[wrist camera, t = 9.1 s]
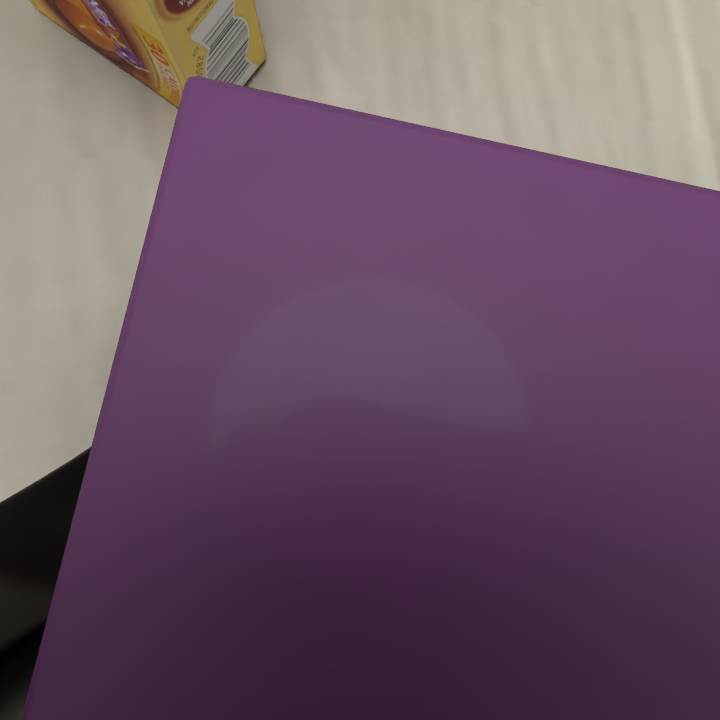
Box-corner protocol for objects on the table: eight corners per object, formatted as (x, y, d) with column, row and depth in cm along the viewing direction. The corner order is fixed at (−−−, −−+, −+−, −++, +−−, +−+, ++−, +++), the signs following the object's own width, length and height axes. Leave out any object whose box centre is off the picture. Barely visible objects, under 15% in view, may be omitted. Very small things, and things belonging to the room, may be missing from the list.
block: (442, 522, 16) (854, 1118, 3) (285, 486, 16) (-37, 914, 3) (475, 365, 16) (976, 240, 3) (320, 330, 16) (183, 67, 3)
